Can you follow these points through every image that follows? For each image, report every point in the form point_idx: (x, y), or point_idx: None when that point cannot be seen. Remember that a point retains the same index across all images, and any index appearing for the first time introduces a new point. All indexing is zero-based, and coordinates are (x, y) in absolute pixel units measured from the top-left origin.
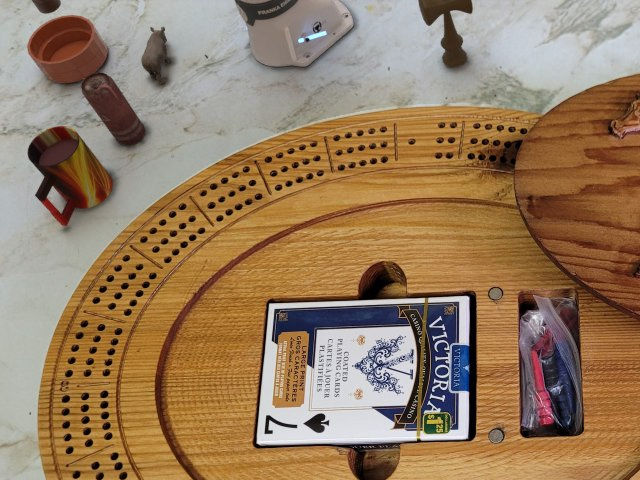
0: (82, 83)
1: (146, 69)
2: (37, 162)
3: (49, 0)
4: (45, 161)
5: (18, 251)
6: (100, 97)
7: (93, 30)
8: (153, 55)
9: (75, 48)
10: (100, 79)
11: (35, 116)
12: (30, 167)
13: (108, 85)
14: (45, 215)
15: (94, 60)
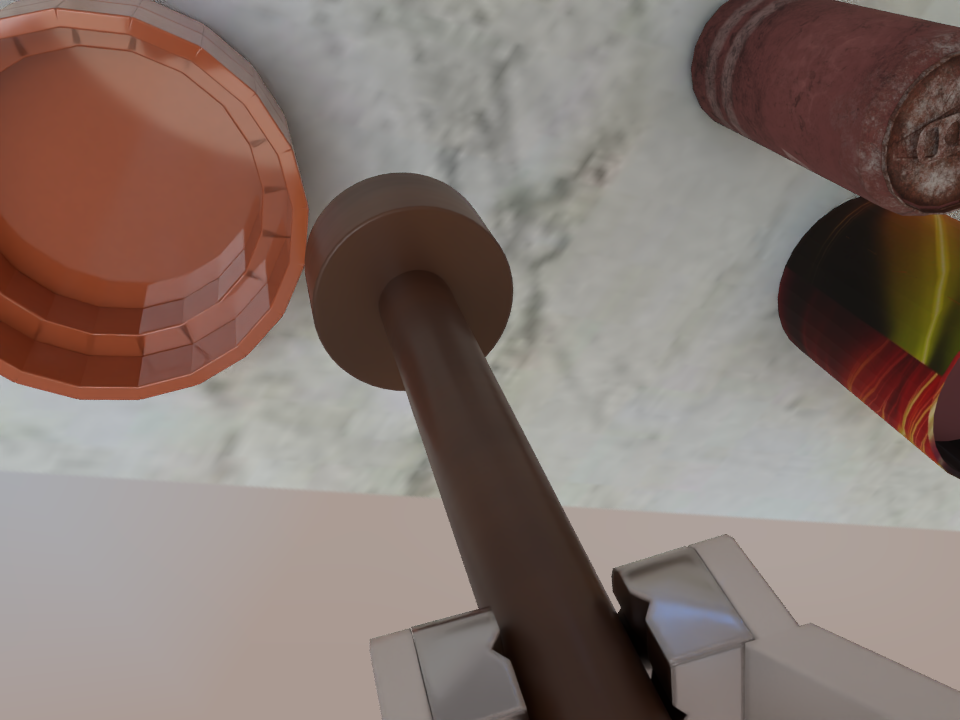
0: (900, 201)
1: None
2: (937, 445)
3: (506, 260)
4: (940, 417)
5: (902, 502)
6: None
7: (117, 22)
8: None
9: (30, 160)
10: (943, 99)
11: (388, 400)
12: (629, 443)
13: None
14: (847, 422)
15: (263, 88)
